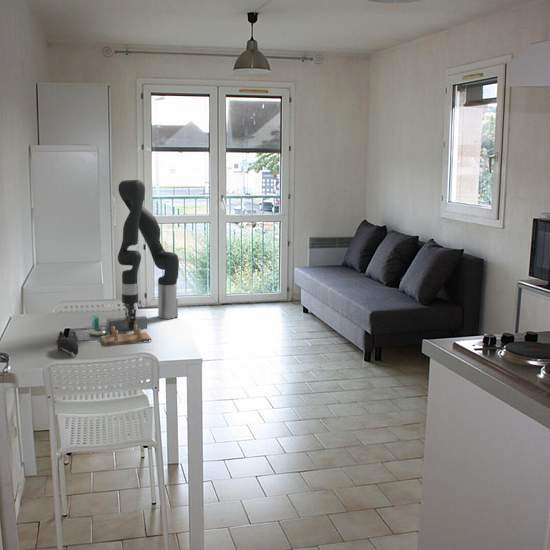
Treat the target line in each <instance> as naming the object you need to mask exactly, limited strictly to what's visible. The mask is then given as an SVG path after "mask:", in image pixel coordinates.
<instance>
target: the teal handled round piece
mask: <svg viewBox="0 0 550 550" xmlns="http://www.w3.org/2000/svg"><path fill="white" fill-rule="evenodd" d="M99 320H100V317H98V315H97V314H92V315H91V324H92V325H91V328H89V329H90V330H89V334H90V335H94V336H100V335H105V334H107V331H108V330H107V328H106V327H100V321H99ZM105 328H106V329H105Z"/></svg>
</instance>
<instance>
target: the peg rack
mask: <svg viewBox="0 0 550 550" xmlns="http://www.w3.org/2000/svg"><path fill="white" fill-rule="evenodd" d="M100 340H101V341H102V343H103V344H104V346H105V347H106V346H107V347H108V346H118V345H119V346H120V345H130V344H138V343H139V342H144V341H149V340H151V341H152V338H151V336H150V335H149V334H148V333H147V332H146V331H145V332H142V329H137V325H134V329H133V333H122V334H119V331H117V330H115V327H114V326H112V327H111V333H110V335H106V336H101V339H100ZM144 343H145V342H144ZM139 344H140V343H139Z"/></svg>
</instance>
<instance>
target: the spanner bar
mask: <svg viewBox="0 0 550 550" xmlns="http://www.w3.org/2000/svg"><path fill="white" fill-rule="evenodd" d="M131 319H133V317H131ZM134 325H137V329H141V330H142V329H143V330H144V328H145V329H148V317H147V316H146V315H145V316H136V320H135V321H134ZM112 326H114V327H115V330H117V331H118V332H120V331H129V330H130V329H129V317H127V318H126V317H117V318H114V317H112V318H111V317H110V318H106V329H108V330H107V331H108V332H109V333H110V331H111V327H112ZM131 330H132V331H134V329H131Z"/></svg>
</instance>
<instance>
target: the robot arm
mask: <svg viewBox="0 0 550 550" xmlns="http://www.w3.org/2000/svg"><path fill="white" fill-rule="evenodd" d="M117 189H118V193H119V196H120V198H121V200H122V201H123V203H124V204H125V206H126V207H127V209H128V210H129V212H128V215H127V218H126V219H125V220H124V223H123V227H122V240H121V241H122V242H121V246H120V248H119V251H118V254H117V262H118V264H119V265H122V266H132V267H131V269H126V270H124V271H122V272H121V284H122V285H121V303H123V304H124V316H125V318H127V317H129V329H130V330H131V329H133V330H134V321H135V320H136V317H137V316H136V315H137V313H136V312H137V309H136V306H135V304H137V303H139V284H138V272H139V269H140V264H141V262H142V254H141V253H140V251H138V250H132V249H131V250H130V249H129V248H130V247H131V246H132V247H133V246H136V245H137V244H138V243H139V232H140V233H141V235H142V237H143V238H144V241H145V243H146V245H147V247H148V249H149V252H150V254H151V257H152V260H153V262H154V265H155V266H156V268H157V269H160V270H164V271H163V275H162V276H160V277H158V279H157V304H158V305H157V309H158V310H157V315H158V318H159V319H163V320H170V319H171V318H173V319H176V318H175V317H179V304H178V303H179V299H178V298H177V297H178V295H177V293H178V292H177V291H178V289H177V288H178V286H177V285H178V284H177V281H178V278H179V267H180V266H179V265H180V261H179V260H180V258H179V256H178V255H177V253H175V252H172V251H166V250H165V249H164V247H163V244H162V243H161V227H160V225H159V222H158V220H157V219H156V217H155V216H154V215H153V214H152V213H151V212H150V211H149V210H148V209H147V208H145V206H144V201H145V200H144V199H145V196H146V195H145V193H146V187H145V184H144V183H143V181H142V180H138V179H130V180H129V179H126V180H122V181H120V182H119V183H118V188H117ZM131 317H133V319H131ZM171 320H172V319H171Z"/></svg>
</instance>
